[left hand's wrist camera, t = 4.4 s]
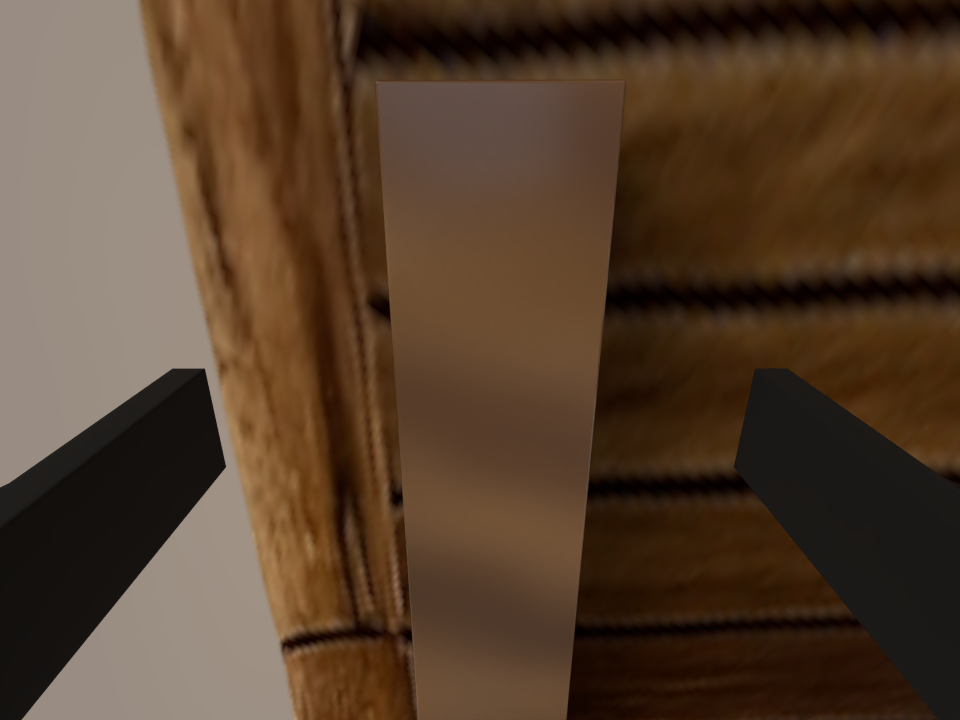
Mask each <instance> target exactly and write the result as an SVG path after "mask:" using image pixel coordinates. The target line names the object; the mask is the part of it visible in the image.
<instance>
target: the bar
mask: <svg viewBox="0 0 960 720" xmlns="http://www.w3.org/2000/svg"><path fill="white" fill-rule="evenodd" d="M625 91H626V81H625V80H378V81H376V82H375V93H376V108H377V123H378V137H379V152H380V167H381V182H382V196H383V211H384V226H385V241H386V255H387V270H388V285H389V300H390V314H391V329H392V344H393V359H394V374H395V388H396V403H397V418H398V433H399V447H400V462H401V477H402V492H403V506H404V521H405V536H406V551H407V565H408V580H409V595H410V610H411V624H412V639H413V654H414V669H415V683H416V698H417V713H418V720H566V717H567V707H568V696H569V686H570V675H571V664H572V654H573V643H574V632H575V622H576V611H577V601H578V590H579V579H580V569H581V558H582V548H583V537H584V526H585V516H586V505H587V495H588V484H589V473H590V463H591V452H592V441H593V431H594V420H595V410H596V399H597V388H598V378H599V367H600V357H601V346H602V335H603V325H604V314H605V303H606V293H607V282H608V272H609V261H610V250H611V240H612V229H613V219H614V208H615V197H616V187H617V176H618V166H619V155H620V144H621V134H622V123H623V112H624V102H625Z"/></svg>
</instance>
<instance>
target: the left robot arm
mask: <svg viewBox="0 0 960 720" xmlns="http://www.w3.org/2000/svg"><path fill="white" fill-rule="evenodd" d="M225 468H226V465H225V460H224V456H223V451H222V446H221V441H220V437H219V432H218V428H217V423H216V418H215V414H214V409H213V404H212V400H211V395H210V391H209V386H208V381H207V377H206V372H205V369H171V370H170V371H169V372H167V373H166V374H164V375H163V376H161V377H160V378H159V379H157V380H156V381H154V382H153V383H151V384H150V385H149V386H147V387H146V388H144V389H143V390H142V391H140V392H139V393H137V394H136V395H134V396H133V397H132V398H130V399H129V400H127V401H126V402H124V403H123V404H122V405H120V406H119V407H117V408H116V409H114V410H113V411H112V412H110V413H109V414H107V415H106V416H104V417H103V418H102V419H100V420H99V421H97V422H96V423H94V424H93V425H92V426H90V427H89V428H87V429H86V430H84V431H83V432H82V433H80V434H79V435H77V436H76V437H74V438H73V439H72V440H70V441H69V442H67V443H66V444H64V445H63V446H62V447H60V448H59V449H57V450H56V451H55V452H53V453H52V454H50V455H49V456H47V457H46V458H45V459H43V460H42V461H40V462H39V463H37V464H36V465H35V466H33V467H32V468H30V469H29V470H27V471H26V472H25V473H23V474H22V475H20V476H19V477H17V478H16V479H15V480H13V481H12V482H10V483H9V484H7V485H5V486H2V487H0V720H22V718H23V717H24V716H25V715H26V714H27V712H28V711H29V710H30V709H31V707H32V706H33V705H34V704H35V702H36V701H37V700H38V699H39V697H40V696H41V695H42V694H43V692H44V691H45V690H46V689H47V688H48V686H49V685H50V684H51V683H52V681H53V680H54V679H55V678H56V676H57V675H58V674H59V673H60V671H61V670H62V669H63V668H64V667H65V665H66V664H67V663H68V662H69V660H70V659H71V658H72V657H73V655H74V654H75V653H76V652H77V651H78V649H79V648H80V647H81V646H82V644H83V643H84V642H85V641H86V639H87V638H88V637H89V636H90V634H91V633H92V632H93V631H94V630H95V628H96V627H97V626H98V625H99V623H100V622H101V621H102V620H103V618H104V617H105V616H106V615H107V613H108V612H109V611H110V610H111V609H112V607H113V606H114V605H115V604H116V602H117V601H118V600H119V599H120V597H121V596H122V595H123V594H124V592H125V591H126V590H127V589H128V587H129V586H130V585H131V584H132V583H133V581H134V580H135V579H136V578H137V576H138V575H139V574H140V573H141V571H142V570H143V569H144V568H145V566H146V565H147V564H148V563H149V561H150V560H151V559H152V558H153V557H154V555H155V554H156V553H157V552H158V550H159V549H160V548H161V547H162V546H163V544H164V543H165V542H166V541H167V539H168V538H169V537H170V536H171V534H172V533H173V532H174V531H175V529H176V528H177V527H178V526H179V524H180V523H181V522H182V521H183V519H184V518H185V517H186V516H187V515H188V513H189V512H190V511H191V510H192V508H193V507H194V506H195V505H196V503H197V502H198V501H199V500H200V498H201V497H202V496H203V495H204V494H205V492H206V491H207V490H208V489H209V487H210V486H211V485H212V484H213V482H214V481H215V480H216V479H217V478H218V476H219V475H220V474H221V473H222V471H223V470H224V469H225ZM734 468H735V469H736V470H737V471H738V473H739V474H740V475H741V476H742V478H743V479H744V480H745V481H746V482H747V484H748V485H749V486H750V487H751V489H752V490H753V491H754V492H755V494H756V495H757V496H758V497H759V499H760V500H761V501H762V502H763V503H764V505H765V506H766V507H767V508H768V510H769V511H770V512H771V513H772V515H773V516H774V517H775V518H776V520H777V521H778V522H779V523H780V524H781V526H782V527H783V528H784V529H785V531H786V532H787V533H788V534H789V536H790V537H791V538H792V539H793V541H794V542H795V543H796V544H797V546H798V547H799V548H800V549H801V550H802V552H803V553H804V554H805V555H806V557H807V558H808V559H809V560H810V562H811V563H812V564H813V565H814V567H815V568H816V569H817V570H818V571H819V573H820V574H821V575H822V576H823V578H824V579H825V580H826V581H827V583H828V584H829V585H830V586H831V588H832V589H833V590H834V591H835V592H836V594H837V595H838V596H839V597H840V599H841V600H842V601H843V602H844V604H845V605H846V606H847V607H848V609H849V610H850V611H851V612H852V613H853V615H854V616H855V617H856V618H857V620H858V621H859V622H860V623H861V625H862V626H863V627H864V628H865V630H866V631H867V632H868V633H869V634H870V636H871V637H872V638H873V639H874V641H875V642H876V643H877V644H878V646H879V647H880V648H881V649H882V651H883V652H884V653H885V654H886V655H887V657H888V658H889V659H890V660H891V662H892V663H893V664H894V665H895V667H896V668H897V669H898V670H899V672H900V673H901V674H902V675H903V676H904V678H905V679H906V680H907V681H908V683H909V684H910V685H911V686H912V688H913V689H914V690H915V691H916V693H917V694H918V695H919V696H920V698H921V699H922V700H923V701H924V702H925V704H926V705H927V706H928V707H929V709H930V710H931V711H932V712H933V714H934V715H935V716H936V717H937V719H938V720H960V485H958V484H956V483H954V482H952V481H950V480H948V479H946V478H943V477H941V476H940V475H938V474H937V473H935V472H934V471H933V470H931V469H930V468H928V467H927V466H925V465H924V464H923V463H921V462H920V461H918V460H917V459H915V458H914V457H913V456H911V455H910V454H908V453H907V452H905V451H904V450H903V449H901V448H900V447H898V446H897V445H896V444H894V443H893V442H891V441H890V440H888V439H887V438H886V437H884V436H883V435H881V434H880V433H878V432H877V431H876V430H874V429H873V428H871V427H870V426H868V425H867V424H866V423H864V422H863V421H861V420H860V419H858V418H857V417H856V416H854V415H853V414H851V413H850V412H848V411H847V410H846V409H844V408H843V407H841V406H840V405H838V404H837V403H836V402H834V401H833V400H831V399H830V398H828V397H827V396H826V395H824V394H823V393H821V392H820V391H818V390H817V389H816V388H814V387H813V386H811V385H810V384H809V383H807V382H806V381H804V380H803V379H801V378H800V377H799V376H797V375H796V374H794V373H793V372H791V371H790V370H789V369H755V372H754V377H753V381H752V386H751V390H750V395H749V400H748V404H747V409H746V414H745V418H744V423H743V428H742V432H741V437H740V441H739V446H738V451H737V455H736V460H735V465H734Z"/></svg>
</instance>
